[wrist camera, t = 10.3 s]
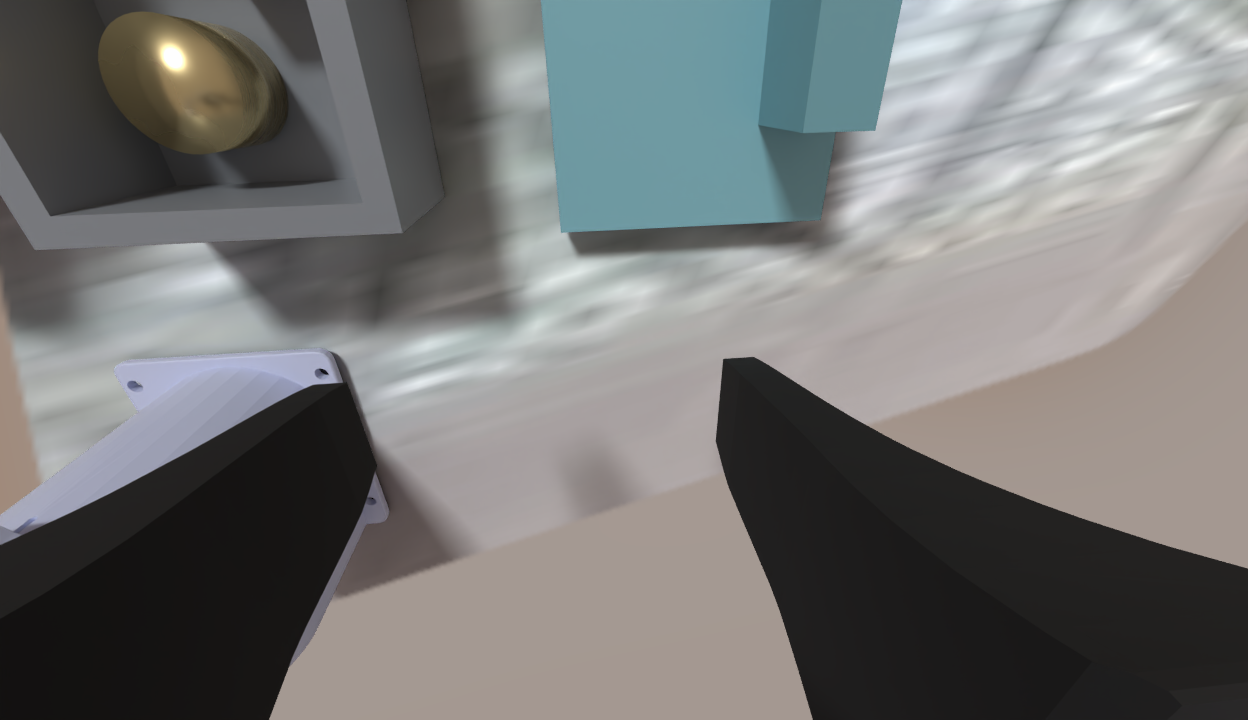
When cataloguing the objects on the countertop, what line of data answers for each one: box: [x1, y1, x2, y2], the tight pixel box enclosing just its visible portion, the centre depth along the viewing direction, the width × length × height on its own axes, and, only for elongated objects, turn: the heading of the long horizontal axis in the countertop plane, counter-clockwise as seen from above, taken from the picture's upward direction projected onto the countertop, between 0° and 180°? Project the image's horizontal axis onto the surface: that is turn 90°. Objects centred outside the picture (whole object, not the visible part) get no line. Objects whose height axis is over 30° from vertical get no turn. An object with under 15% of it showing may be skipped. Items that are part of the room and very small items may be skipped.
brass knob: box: [98, 12, 289, 154], centre depth 14 cm, size 3×3×2 cm
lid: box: [541, 0, 902, 233], centre depth 14 cm, size 11×9×5 cm
